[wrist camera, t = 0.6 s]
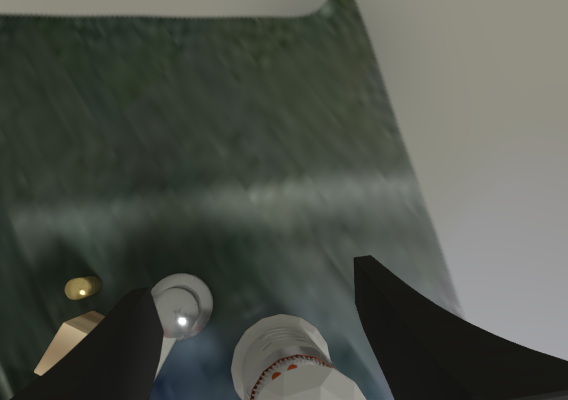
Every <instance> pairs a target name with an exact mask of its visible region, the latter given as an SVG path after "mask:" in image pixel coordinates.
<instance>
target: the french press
mask: <svg viewBox="0 0 568 400" xmlns="http://www.w3.org/2000/svg"><path fill="white" fill-rule="evenodd" d="M331 363H332V362H331V361H330V356H329V352H328V347H327V343H326V342H325V340H324V339H323V337H322V336H321V334H320V333H319V331H318V330H317V328H316V327H314V326H313V325H311V324H310V323H308V322H307V321H305V320H304V319H302V318H301V317H296V316H291V315H285V314H279V315H275V316H271V317H267V318H262V319H261V320H260V321H258V322H257V323H256V324H254V325H253V326H251V327H250V328H249V329H247V330H246V331H245V333H244V335H243V336H242V338H241V339H240V341H239V342H238V344H237V346H236V347H235V351H234V356H233V361H232V366H231V372H232V377H233V383H234V388H235V391H236V392H237V394H238V395H239V397H240V398H241V400H366V399H365V397H364V396H363V394H362V393H361V391H360V390H359V388H358V387H357V385H356V383H355V382H354V381H352V380H351V379H349V378H348V377H346V376H345V375H343V374H342V373H340V372H338V370H337V368H336V367H335V365H334V364H333V363H332V364H331ZM332 365H333V366H334V368H335V369H334V368H333V366H332Z"/></svg>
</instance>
